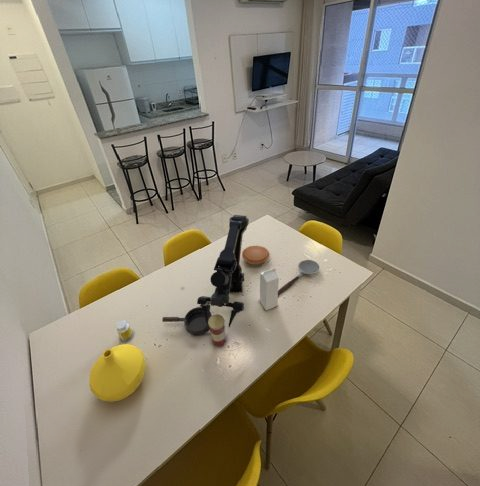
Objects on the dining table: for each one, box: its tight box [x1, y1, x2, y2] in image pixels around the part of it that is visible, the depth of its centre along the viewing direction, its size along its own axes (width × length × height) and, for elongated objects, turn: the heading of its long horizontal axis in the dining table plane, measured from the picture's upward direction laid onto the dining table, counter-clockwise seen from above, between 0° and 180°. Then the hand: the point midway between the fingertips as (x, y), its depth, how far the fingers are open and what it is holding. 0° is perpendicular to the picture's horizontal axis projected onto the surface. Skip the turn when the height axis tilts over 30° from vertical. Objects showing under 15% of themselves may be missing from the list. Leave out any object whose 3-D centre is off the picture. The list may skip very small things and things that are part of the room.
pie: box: [241, 245, 270, 267], centre depth 146 cm, size 16×16×5 cm
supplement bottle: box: [115, 319, 133, 342], centre depth 108 cm, size 5×5×8 cm
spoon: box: [278, 259, 320, 296], centre depth 132 cm, size 11×33×3 cm, turn 129°
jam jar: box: [208, 313, 227, 347], centre depth 104 cm, size 6×6×13 cm
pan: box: [183, 306, 213, 337], centre depth 113 cm, size 12×12×4 cm
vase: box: [89, 343, 147, 402], centre depth 90 cm, size 18×18×19 cm
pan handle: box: [162, 316, 185, 323], centre depth 112 cm, size 10×2×2 cm, turn 89°
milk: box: [259, 267, 280, 311], centre depth 115 cm, size 6×6×22 cm
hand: (217, 325), depth 103 cm, fingers open, 9 cm apart
